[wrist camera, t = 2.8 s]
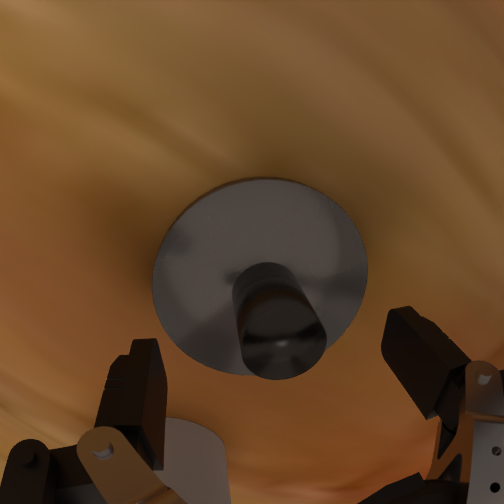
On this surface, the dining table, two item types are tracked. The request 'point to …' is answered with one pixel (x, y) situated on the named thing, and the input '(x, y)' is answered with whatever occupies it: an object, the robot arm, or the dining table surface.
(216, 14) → the dining table surface
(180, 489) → the light grey cylinder
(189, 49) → the dining table surface
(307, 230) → the lid
